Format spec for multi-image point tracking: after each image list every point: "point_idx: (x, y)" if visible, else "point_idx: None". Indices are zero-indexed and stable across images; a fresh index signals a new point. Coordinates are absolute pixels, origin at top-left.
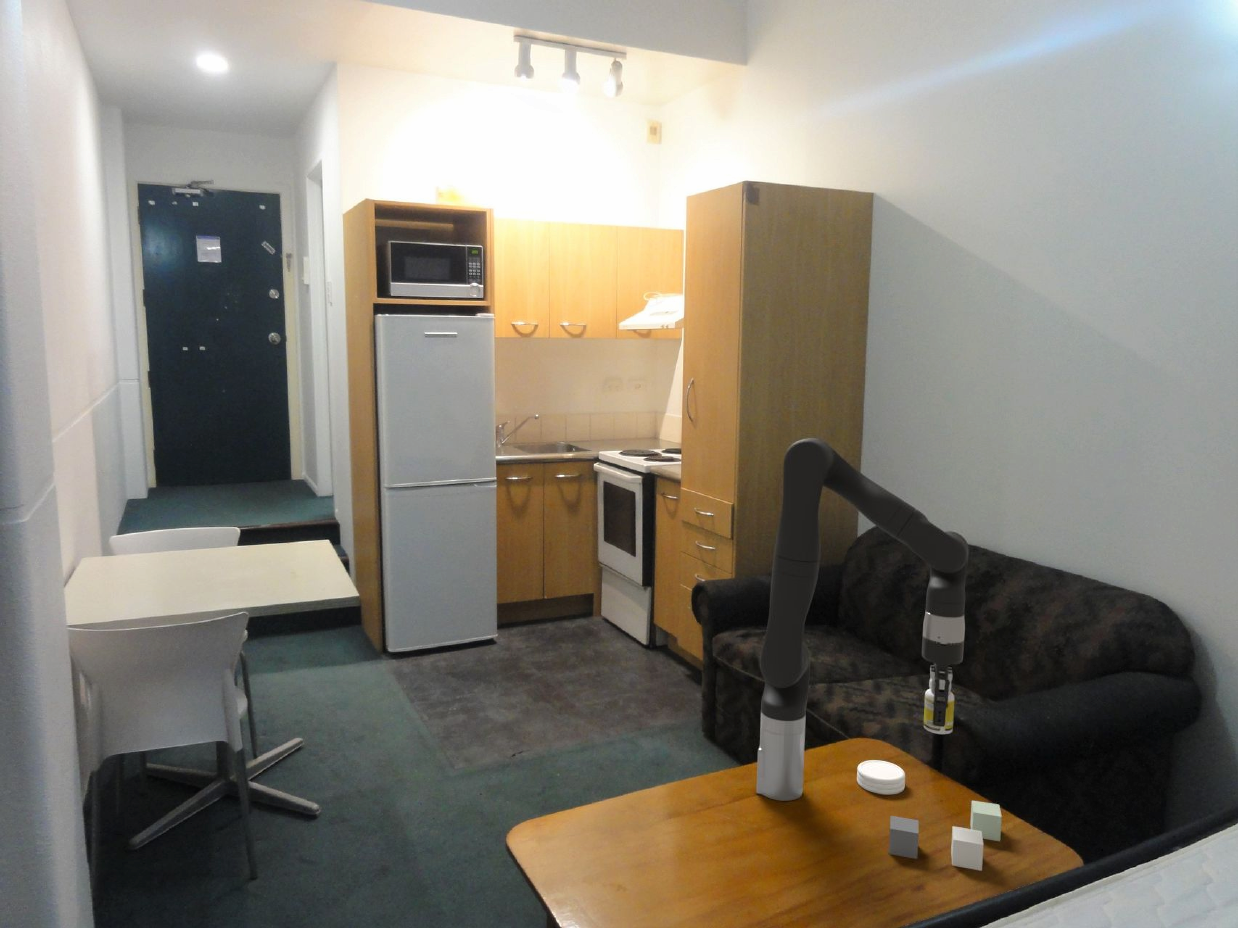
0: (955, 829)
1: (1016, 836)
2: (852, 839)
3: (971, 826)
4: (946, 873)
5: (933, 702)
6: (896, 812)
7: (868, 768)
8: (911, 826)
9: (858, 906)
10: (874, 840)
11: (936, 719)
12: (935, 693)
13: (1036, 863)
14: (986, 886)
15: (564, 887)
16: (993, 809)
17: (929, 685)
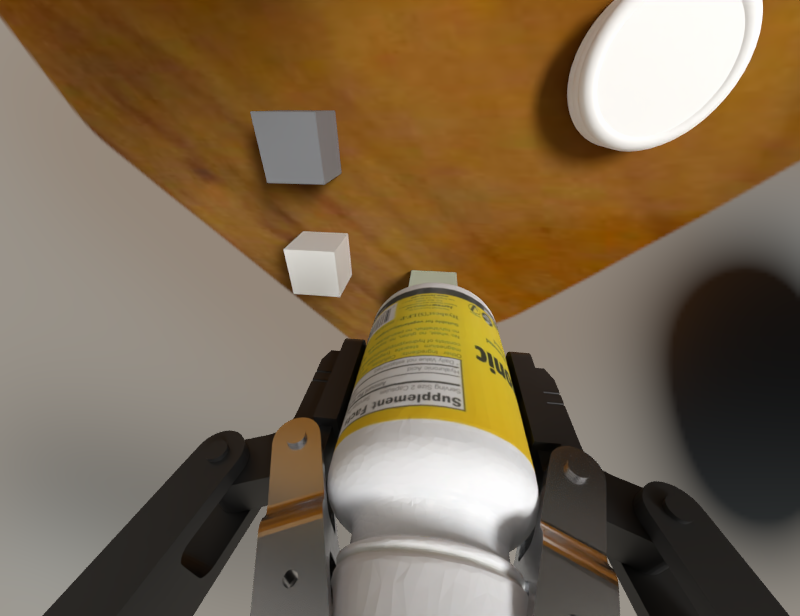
0: (323, 255)
1: None
2: (294, 2)
3: (431, 275)
4: (272, 220)
5: (207, 459)
6: (469, 125)
7: (684, 9)
8: (289, 167)
9: (61, 50)
10: (317, 70)
11: (318, 371)
12: (92, 569)
13: (365, 337)
14: (271, 272)
15: None
16: None
17: (414, 556)
